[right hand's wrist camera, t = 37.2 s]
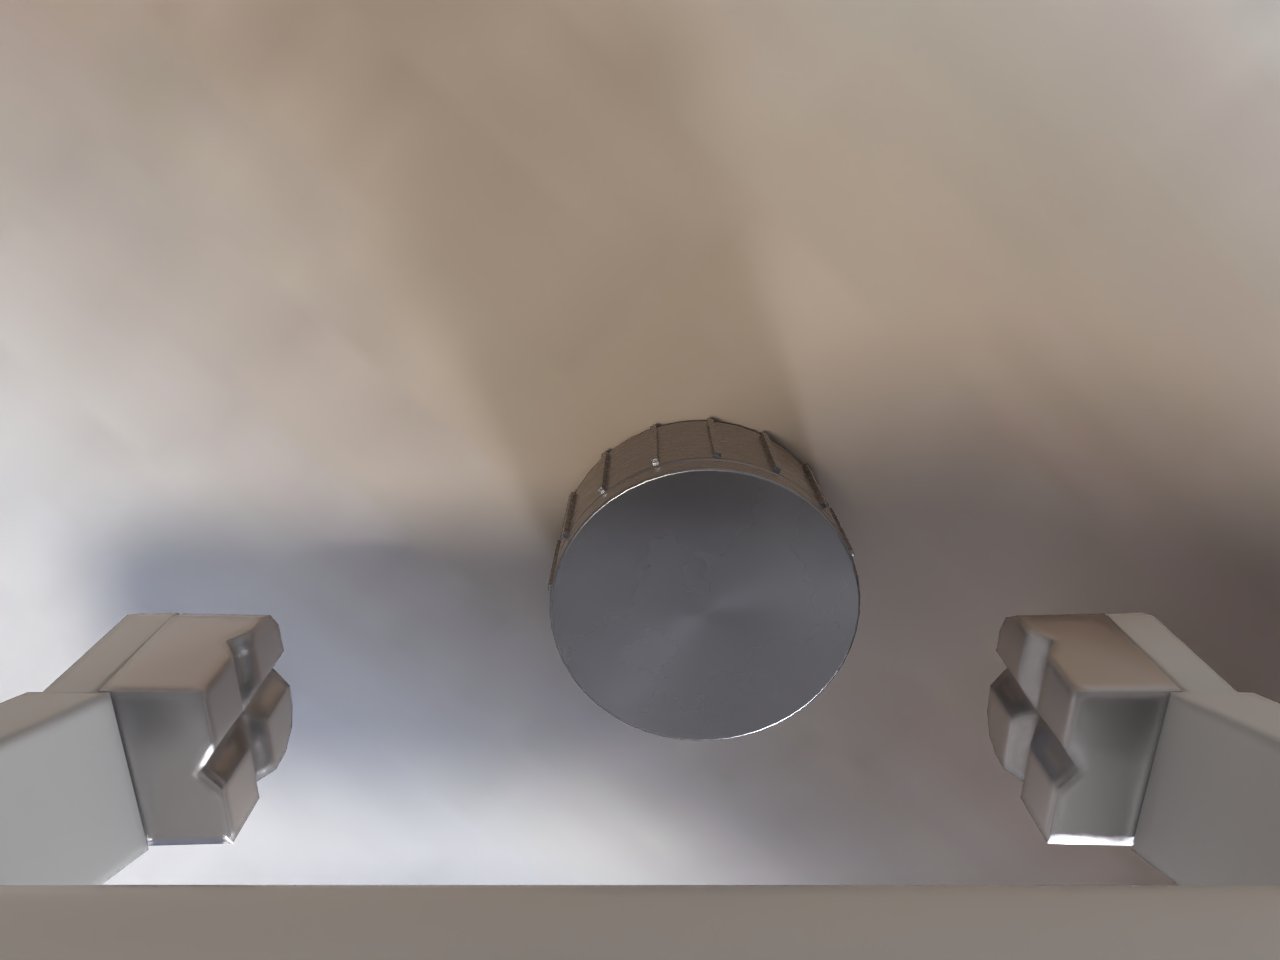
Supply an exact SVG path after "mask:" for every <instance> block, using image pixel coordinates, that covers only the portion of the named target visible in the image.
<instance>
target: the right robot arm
mask: <svg viewBox="0 0 1280 960" xmlns="http://www.w3.org/2000/svg"><path fill="white" fill-rule="evenodd" d="M283 651H284V649H283V644H282V639H281V634H280V630H279V625H278V624H277V622H276V621H275V620H274V619H273V618H272V617H271V616H270V615H225V614H179V613H150V614H133V615H127V616H126V617H125V618H124V619H123V620H121V621H120V622H119V623H118V624H117V625H116V626H115V627H114V628H113V629H112V630H110V631H109V632H108V633H107V634H106V635H105V636H104V637H103V638H102V639H101V640H99V641H98V642H97V643H96V644H95V645H94V646H93V647H92V648H91V649H90V650H88V651H87V652H86V653H85V654H84V655H83V656H82V657H81V658H80V659H79V660H77V661H76V662H75V663H74V664H73V665H72V666H71V667H70V668H69V669H68V670H66V671H65V672H64V673H63V674H62V675H61V676H60V677H59V678H58V679H56V680H55V681H54V682H53V683H52V684H51V685H50V686H49V687H48V688H47V689H45V690H44V691H43V692H27V693H24V694H22V695H20V696H17V697H15V698H12V699H10V700H7V701H5V702H2V703H0V960H1280V703H1278V702H1275V701H1273V700H1270V699H1268V698H1265V697H1263V696H1260V695H1258V694H1256V693H1253V692H1237V691H1236V690H1235V689H1233V688H1232V687H1231V686H1230V685H1229V684H1228V683H1227V682H1226V681H1225V680H1224V679H1223V678H1221V677H1220V676H1219V675H1218V674H1217V673H1216V672H1215V671H1214V670H1213V669H1212V668H1210V667H1209V666H1208V665H1207V664H1206V663H1205V662H1204V661H1203V660H1202V659H1201V658H1199V657H1198V656H1197V655H1196V654H1195V653H1194V652H1193V651H1192V650H1191V649H1190V648H1188V647H1187V646H1186V645H1185V644H1184V643H1183V642H1182V641H1181V640H1180V639H1179V638H1177V637H1176V636H1175V635H1174V634H1173V633H1172V632H1171V631H1170V630H1169V629H1168V628H1166V627H1165V626H1164V625H1163V624H1162V623H1161V622H1160V621H1159V620H1158V619H1157V618H1156V617H1154V616H1152V615H1148V614H1145V613H1120V614H1068V615H1027V616H1012V617H1006V618H1005V621H1004V623H1003V625H1002V627H1001V629H1000V632H999V638H998V643H997V649H996V651H997V653H998V654H999V656H1000V658H1001V659H1002V661H1003V662H1004V664H1005V665H1006V667H1007V669H1006V670H1005V671H1004V672H1003V673H1002V674H1001V675H1000V676H999V677H998V678H997V679H996V680H995V681H994V682H993V683H992V684H991V685H990V693H989V701H988V709H987V714H988V725H989V735H990V739H991V742H992V745H993V748H994V751H995V754H996V756H997V758H998V759H999V761H1000V763H1001V765H1002V767H1003V768H1004V770H1006V771H1007V772H1009V773H1011V774H1012V775H1014V776H1015V777H1017V778H1019V779H1020V780H1022V781H1023V787H1022V793H1021V799H1022V801H1023V803H1024V805H1025V806H1026V808H1027V810H1028V811H1029V813H1030V815H1031V816H1032V818H1033V820H1034V821H1035V823H1036V825H1037V826H1038V828H1039V830H1040V832H1041V833H1042V835H1043V837H1044V838H1045V840H1046V842H1047V843H1052V844H1089V845H1126V846H1132V850H1133V851H1134V852H1136V853H1137V854H1138V855H1140V856H1141V857H1142V858H1144V859H1145V860H1146V861H1148V862H1149V863H1150V864H1152V865H1153V866H1154V867H1156V868H1157V869H1158V870H1160V871H1161V872H1162V873H1164V874H1165V875H1166V876H1168V877H1169V878H1170V879H1172V880H1173V881H1174V882H1176V883H1177V884H1178V885H102V884H103V883H105V882H106V881H107V880H109V879H110V878H111V877H113V876H114V875H115V874H117V873H118V872H119V871H121V870H122V869H123V868H125V867H126V866H127V865H129V864H130V863H131V862H133V861H134V860H135V859H137V858H138V857H139V856H141V855H142V854H143V853H145V852H146V851H147V850H148V846H154V845H189V844H225V843H233V842H234V840H235V838H236V837H237V835H238V833H239V832H240V830H241V828H242V827H243V825H244V823H245V821H246V820H247V818H248V816H249V815H250V813H251V811H252V810H253V808H254V806H255V804H256V803H257V801H258V799H259V793H258V787H257V781H258V780H260V779H261V778H263V777H265V776H266V775H268V774H269V773H271V772H273V771H274V770H276V768H277V767H278V765H279V763H280V761H281V759H282V757H283V756H284V754H285V752H286V749H287V745H288V741H289V736H290V732H291V728H292V699H291V692H290V685H289V684H288V683H287V682H286V681H285V680H284V679H283V678H282V677H281V676H280V675H279V674H278V673H277V672H276V671H275V670H274V669H273V667H274V665H275V664H276V662H277V661H278V659H279V657H280V656H281V654H282V653H283Z"/></svg>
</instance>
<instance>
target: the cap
mask: <svg viewBox="0 0 1280 960" xmlns="http://www.w3.org/2000/svg"><path fill="white" fill-rule="evenodd" d="M828 506H829V505H828V503H827V501H826V499H825V497H824V495H823V493H822V491H821V489H820V487H819V485H818V483H817V481H816V479H815V477H814V475H813V473H812V471H811V469H810V467H809V466H808V465H807V464H805V465H804V466H803V465H802V464H801V463H800V462H799V461H798V460H797V459H796V458H795V457H794V456H793V455H791V454H790V453H789V452H788V451H787V450H786V449H784V448H783V447H781V446H780V445H778V444H777V443H775V442H774V441H772V440H771V439H769V436H768V434H767V433H765V432H762V433H761V434H759V433H757V432H754V431H752V430H749V429H745V428H742V427H739V426H736V425H731V424H726V423H721V422H714V420H713V419H712V418H707V421H691V422H679V423H674V424H668V425H663V426H660V427H657V426H656V425H653V426H650V430H648V431H645V432H643V433H641V434H638V435H636V436H634V437H632V438H630V439H628V440H627V441H625V442H623V443H622V444H620V445H619V446H617V447H615V448H614V449H613V450H611V451H610V452H609V453H608V452H607V451H605V452H604V453H602V456H601V460H600V461H599V462H598V463H597V464H596V465H595V466H594V467H593V468H592V469H591V470H590V472H589V473H588V474H587V475H586V477H585V478H584V480H583V481H582V483H581V484H580V486H579V487H578V489H577V491H576V493H574V492H571V494H570V496H569V500H568V505H567V510H566V514H565V519H564V524H563V529H562V533H561V537H562V538H561V540H558V542H557V547H556V551H555V556H554V560H553V565H552V570H551V574H550V579H549V584H548V590H551V593H550V618H551V626H552V632H553V635H554V639H555V643H556V646H557V649H558V651H559V653H560V656H561V658H562V660H563V663H564V664H565V666H566V668H567V669H568V671H569V673H570V674H571V676H572V677H573V679H574V680H575V681H576V683H577V684H578V685H579V686H580V687H581V689H582V690H583V691H584V692H585V693H586V694H587V695H588V696H589V697H590V698H591V699H592V700H593V701H594V702H595V703H596V704H597V705H599V706H600V707H601V708H603V709H604V710H606V711H607V712H608V713H610V714H611V715H612V716H614V717H616V718H618V719H620V720H621V721H623V722H625V723H627V724H629V725H631V726H634V727H636V728H638V729H641V730H643V731H646V732H649V733H653V734H656V735H660V736H663V737H669V738H675V739H681V740H696V741H706V740H722V739H728V738H734V737H740V736H743V735H747V734H751V733H754V732H758V731H760V730H763V729H765V728H768V727H770V726H773V725H775V724H777V723H779V722H781V721H783V720H785V719H786V718H788V717H790V716H792V715H793V714H795V713H796V712H798V711H799V710H801V709H802V708H803V707H805V706H806V705H808V704H809V703H810V702H811V701H812V700H813V699H814V698H815V697H817V696H818V695H819V694H820V693H821V692H822V691H823V690H824V688H825V687H826V686H827V685H828V684H829V683H830V682H831V680H832V679H833V678H834V676H835V675H836V673H837V672H838V670H839V669H840V667H841V666H842V664H843V662H844V660H845V658H846V656H847V654H848V652H849V650H850V648H851V646H852V642H853V639H854V636H855V633H856V630H857V625H858V619H859V614H860V589H859V581H858V575H857V571H856V568H855V564H854V561H853V558H852V556H854V552H853V549H852V547H851V545H850V543H849V541H848V539H847V537H846V535H845V533H844V531H843V529H842V527H841V525H840V523H839V521H838V519H837V517H836V515H835V513H834V511H833V509H832V508H831V509H829V508H828Z"/></svg>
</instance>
